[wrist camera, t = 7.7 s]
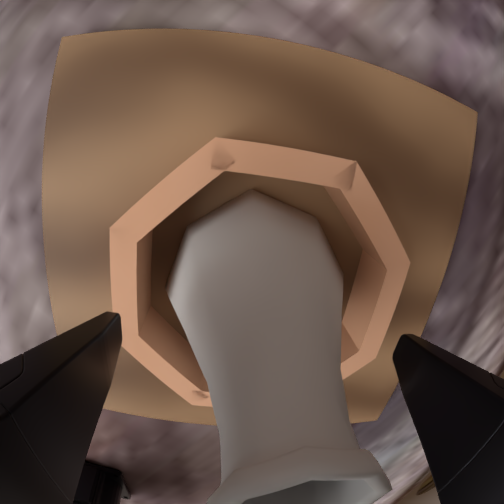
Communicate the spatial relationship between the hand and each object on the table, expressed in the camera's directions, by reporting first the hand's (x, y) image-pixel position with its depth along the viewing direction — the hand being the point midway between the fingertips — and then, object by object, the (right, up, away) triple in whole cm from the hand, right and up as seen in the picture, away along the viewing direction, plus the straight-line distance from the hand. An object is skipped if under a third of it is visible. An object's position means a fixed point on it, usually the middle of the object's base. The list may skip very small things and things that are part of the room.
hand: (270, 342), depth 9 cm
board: (0, +2, +5) cm, 6 cm away
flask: (0, +2, +5) cm, 5 cm away
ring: (0, +2, +4) cm, 5 cm away
